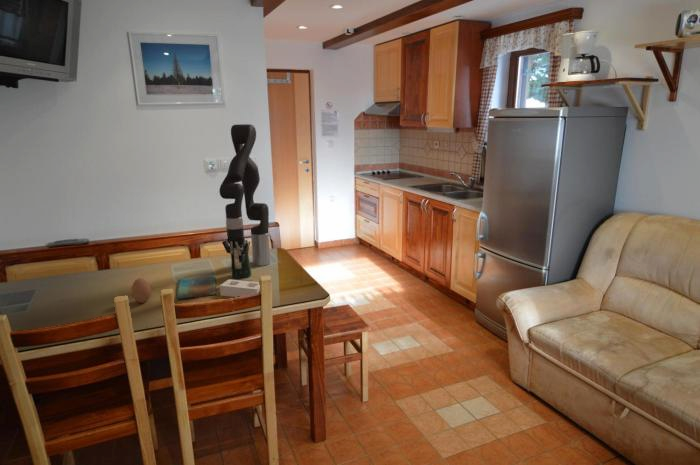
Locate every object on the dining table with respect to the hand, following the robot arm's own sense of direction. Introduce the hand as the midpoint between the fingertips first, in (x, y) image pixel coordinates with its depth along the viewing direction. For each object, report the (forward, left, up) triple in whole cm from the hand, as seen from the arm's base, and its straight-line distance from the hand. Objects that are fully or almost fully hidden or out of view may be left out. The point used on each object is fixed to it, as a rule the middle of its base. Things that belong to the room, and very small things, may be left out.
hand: (237, 261), depth 204 cm
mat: (0, 0, -11) cm, 11 cm away
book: (+10, -16, -12) cm, 23 cm away
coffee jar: (-10, -4, -11) cm, 16 cm away
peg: (0, 0, -3) cm, 3 cm away
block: (+11, +8, -11) cm, 18 cm away
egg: (+29, -30, -11) cm, 44 cm away
